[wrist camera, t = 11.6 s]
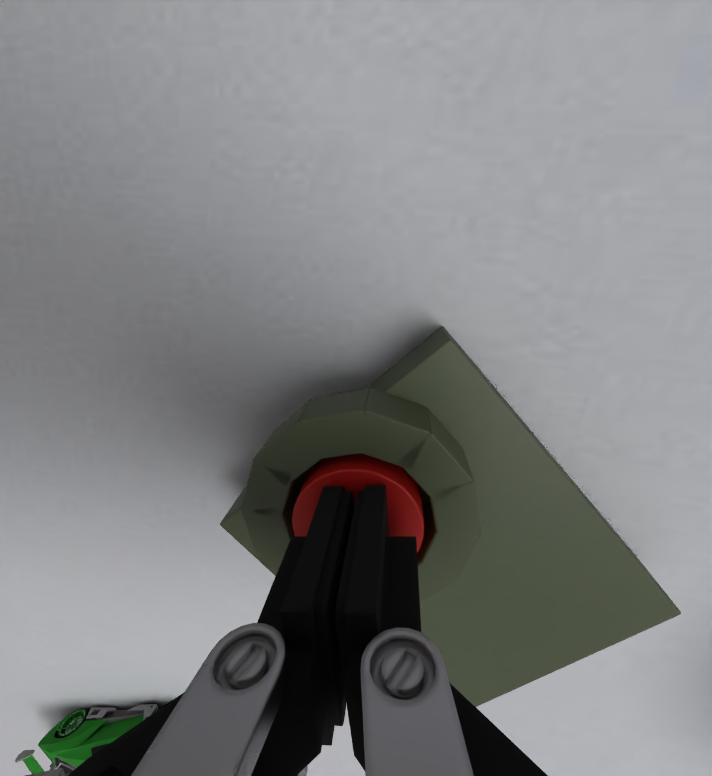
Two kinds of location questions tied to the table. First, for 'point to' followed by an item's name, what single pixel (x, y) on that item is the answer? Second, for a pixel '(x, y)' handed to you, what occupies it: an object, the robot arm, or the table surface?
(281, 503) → the button box
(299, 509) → the button
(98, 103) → the table surface
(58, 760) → the toy car
